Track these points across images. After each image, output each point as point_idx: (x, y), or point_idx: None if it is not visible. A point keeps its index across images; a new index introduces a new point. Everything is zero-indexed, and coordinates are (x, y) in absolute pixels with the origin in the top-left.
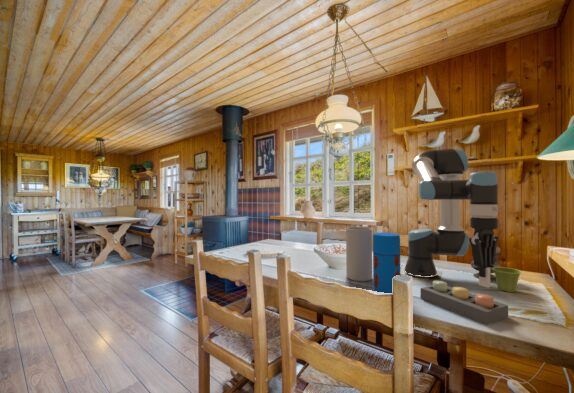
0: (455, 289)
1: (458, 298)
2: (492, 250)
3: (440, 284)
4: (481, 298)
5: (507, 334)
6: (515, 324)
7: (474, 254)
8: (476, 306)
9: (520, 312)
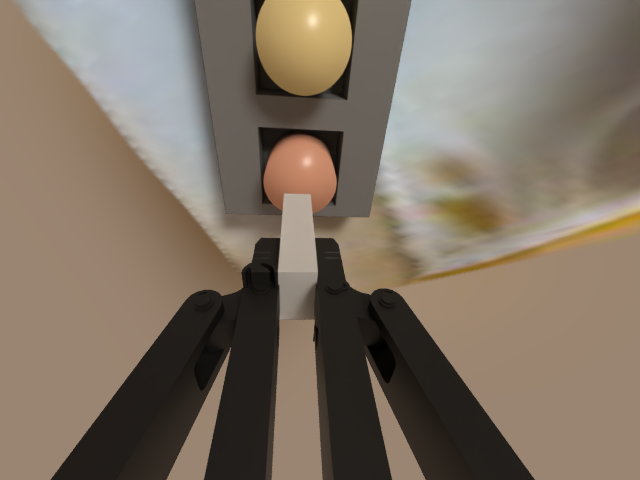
0: (266, 25)
1: (252, 61)
2: (426, 467)
3: None
4: (264, 188)
5: (231, 241)
6: (320, 226)
7: (112, 423)
8: (240, 167)
9: (439, 197)
